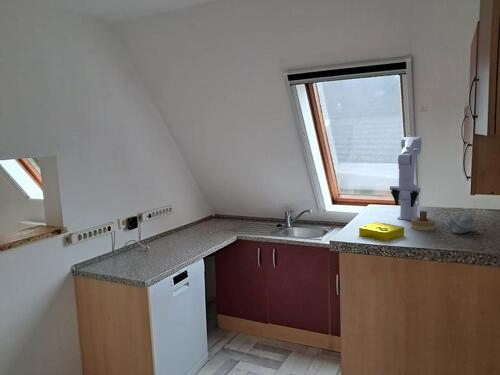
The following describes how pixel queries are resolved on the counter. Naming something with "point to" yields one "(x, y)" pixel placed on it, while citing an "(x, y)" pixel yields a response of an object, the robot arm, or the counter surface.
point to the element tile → (381, 231)
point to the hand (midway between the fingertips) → (404, 205)
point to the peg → (423, 216)
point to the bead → (423, 224)
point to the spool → (461, 223)
